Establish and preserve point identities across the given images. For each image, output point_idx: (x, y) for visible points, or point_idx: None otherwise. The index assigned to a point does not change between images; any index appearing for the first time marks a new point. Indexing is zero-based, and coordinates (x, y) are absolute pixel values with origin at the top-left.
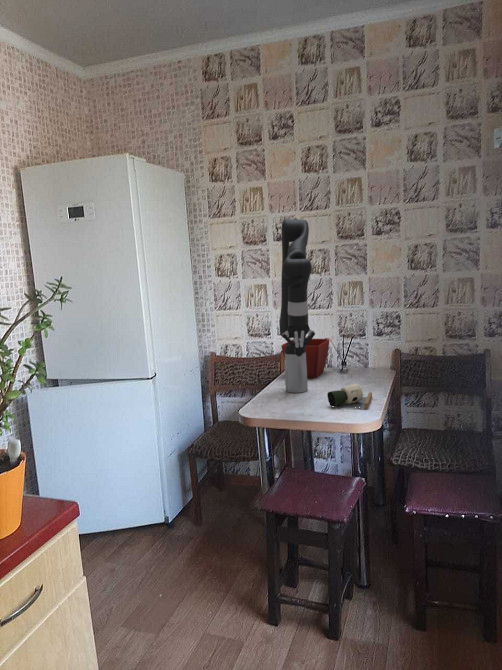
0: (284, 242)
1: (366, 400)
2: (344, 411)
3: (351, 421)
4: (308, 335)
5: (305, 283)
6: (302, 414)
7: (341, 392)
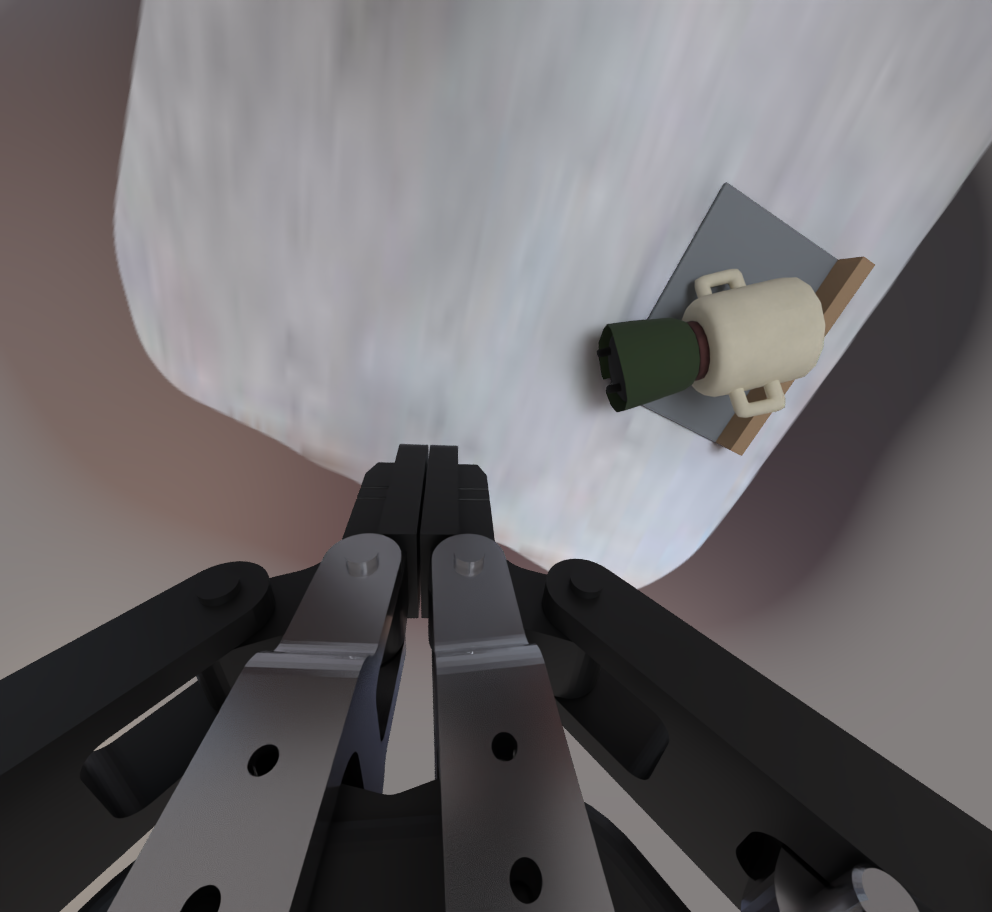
0: None
1: None
2: (626, 441)
3: None
4: (763, 805)
5: None
6: (437, 423)
7: (682, 383)
